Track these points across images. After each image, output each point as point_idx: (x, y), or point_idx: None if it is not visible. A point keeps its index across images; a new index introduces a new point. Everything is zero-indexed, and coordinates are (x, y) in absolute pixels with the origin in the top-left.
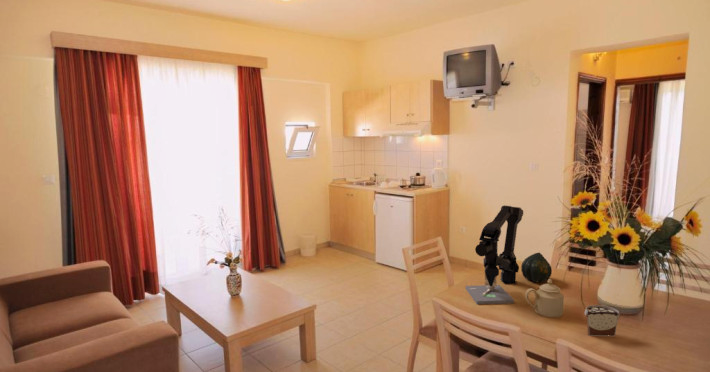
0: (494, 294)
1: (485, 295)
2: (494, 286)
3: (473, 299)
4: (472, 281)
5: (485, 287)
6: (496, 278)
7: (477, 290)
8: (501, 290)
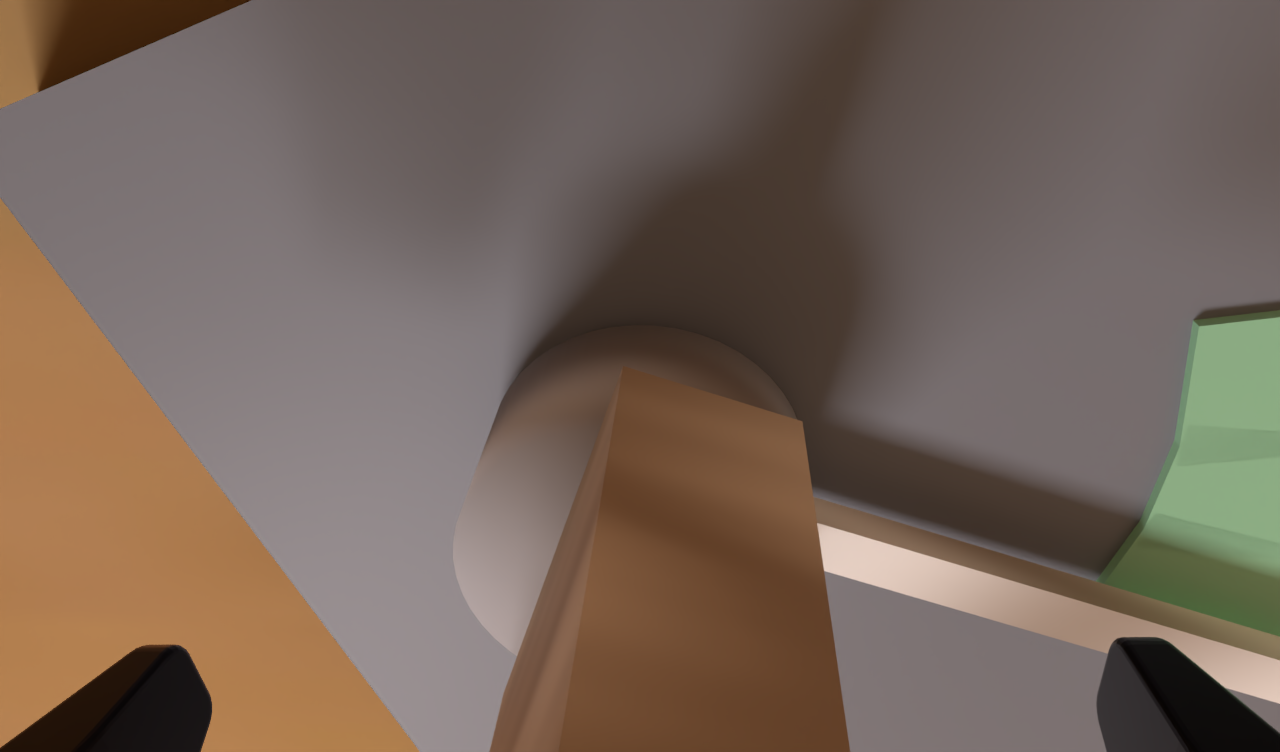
0: (1136, 330)
1: (1261, 596)
2: (787, 451)
3: None
4: None
5: None
6: (577, 690)
7: None
8: (596, 46)
